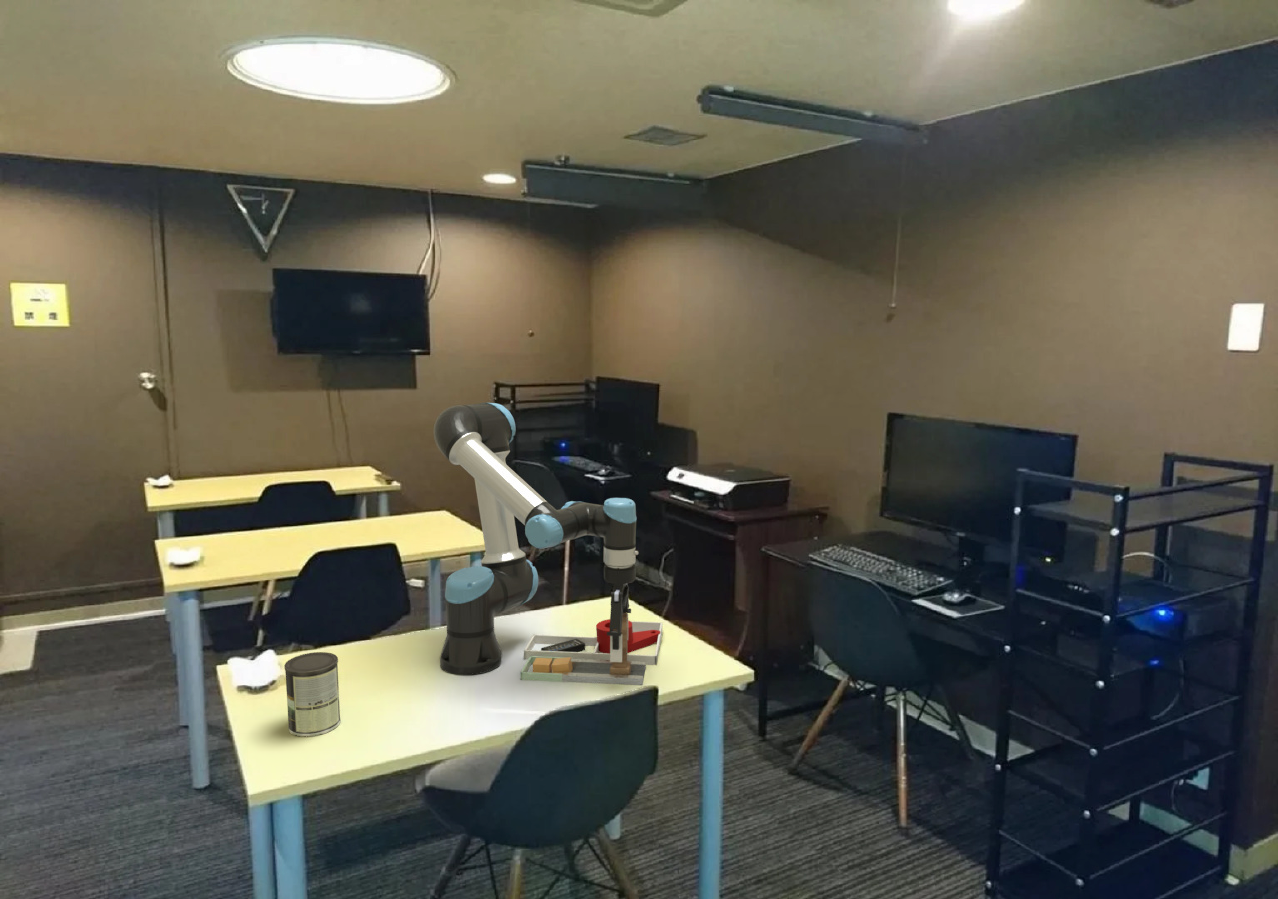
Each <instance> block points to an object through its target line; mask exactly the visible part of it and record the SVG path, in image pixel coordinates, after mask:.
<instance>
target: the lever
mask: <svg viewBox="0 0 1278 899" xmlns="http://www.w3.org/2000/svg"><path fill="white" fill-rule="evenodd" d="M631 621H632V620H629V619H628V640H627V654H630V653H633V652H635V651H638V650H641V649H643V648H647V647H649V646H651V645H654V644H657V641H658V635H659V634H660V631H659V630H648V631H640V632H633V629H632V622H631ZM595 627H596V628H595V629H596V637H597V642H598V643H599V652H598V653H609V654H610V636H607V632H609V630H610V618H609V619H603V620H601V621H599V622H598V623H597V624H596V626H595Z"/></svg>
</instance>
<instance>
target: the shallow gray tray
mask: <svg viewBox="0 0 1278 899" xmlns="http://www.w3.org/2000/svg"><path fill="white" fill-rule="evenodd" d="M571 661H572V668H573V669H572V672H571V673H569V672H563V675H562V682H563V683H565V682H566V683H582V684H583V683H585V684H587V683H588V684H606V685H609V684H610V685H611V684H612V685H630V686H631V685H634V686H643V683H644V680H645V675H646V669H647V665H646V662H639V661H627V662H631V673H630V675H614V674H610V667H611V664H612V662H610V660H592V659H571Z"/></svg>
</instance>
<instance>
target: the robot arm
mask: <svg viewBox="0 0 1278 899" xmlns="http://www.w3.org/2000/svg"><path fill="white" fill-rule="evenodd" d="M516 431H517V430H516V422H515V419H514V417H513V415H512V414H511V412H510V410H509V409H507V408H506V407H505V406H504V405H502V404H500V403H495V402H481V403H472V404H471V403H470V404H464V405H463V404H462V405H461V404H460V405H458V404H457V405H453V406H450V407H447V408H446V409H444V410H443V411H442V412H440V414H439V415H438V416H437V418H436V420H435V422H434V426H433V438H434V441H435V444H436V446H437V449H439V451H440V453H441V454H442V455H443V456H444V457H445V458H446V460H448V461H449V463H451V464H452V465H454V466H457V465H458V466H459V465H460V466H461V467H462V468H463V469H464V470H465V471H466V472H467V473H468V474H469V475H471V477H473V479H474V483H475V491H476V496H477V497H476V498H477V504H478V505H477V506H478V510H479V517H480V524H481V530H482V535H483V543H484V550H485V555H484V557H483V558H482V559H481V560H480V563H481V566H479V565H477V566H476V565H475V566H471V567H463V568H460V569H458V570H456V571H454V572H452V573H451V574H450V575H449V576H448V577H447V579H446V581H445V589H444V590H445V591H444V597H445V617H446V618H445V619H446V623H445V624H446V636H445V640H444V643H443V646H442V648H441V652H440V658H439V659H440V660H439V663H440V664H439V666H440V669H441V670H443V671H444V672H447V673H449V674H452V675H460V676H462V675H463V676H469V675H471V676H472V675H473V676H474V675H478V674H484V673H487V672H489V671H493V670H494V669H496V668H498V667H499V666H500V665H501V664H502V662H503V659H502V658H503V657H502V656H503V655H502V654H503V653H502V650H501V647H500V643H499V641H498V639H497V636H496V632H495V616H496V615H499V614H501V613H504V612H506V611H509V610H511V609H514V608H518V607H521V606H522V605H523V604H525V603H527V602H529V601H530V600H532V598H533V597H534V596H535V594H536V593H537V590H538V587H539V575H538V571H537V568H536V566H533V562H532V561H530V560H529V559H527V555H526V552H524V551H523V550H521V548H520V547H519V542H518V536H517V534H518V533H517V528H516V521H515V520H516V519H517V520H518V521H519V522H521V523H522V524H523V525H524V526H525V527H524V528H525V529H524V531H525V532H524V534H525V537H526V538H527V540H528V543H529V544H530V545H531V546H532V547H534V548H537V549H541V550H542V549H546V548H553V547H556V546H557V545H560V544H562V543H565V542H568V541H572V540H575V539H578V538H581V537H584V536H593V537H598V538H603V563H604V565H603V580H604V581H605V582H606V583H609V584H611V585H612V586H611V588H610V592H609V594H610V617H609V619H610V630H609V632H607V636H610V662H622V632H621V631H622V618H623V613H628V614H632V608H630V602H629V601H630V599H629V591H630V590H629V589H630V587H629V585H628V584H631V583H633V582H634V581H635V580H636V576H637V575H636V573H637V572H636V570H637V568H636V565H635V563H636V556H637V555H639V550H636V543H637V542H636V531H637V519H638V518H637V510H636V509H637V508H636V503H635V501H634V500H632V499H630V498H628V497H610V498H607V499H606V500H604V503H603V504H597V503H591V502H590V503H589V502H584V501H580V500H579V501H573V500H571V501H567V502H566V503H564V505H563V506H562V507H561V508H560V509H556V508H555V507H554V506H553V505H552V504H550V503H549V502H548V501H547V500H545V498H544V497H543V496H541V495H540V494H539V493H538V492H537V491H536V490H535V489H534V488H532V486H531V485H529V484H528V483H527V481H525V480H524V479H523V478H522V477H521V476H519V474H518V473H516V472H515V471H514V470H513V469H512V468H511V467H509V465H507V463H506V458H507V456H508V455H509V453H511V449H510V444H511V442H512V441H513V440H514V436H516ZM515 518H516V519H515ZM616 630H618V631H616ZM627 640H628V639H627Z"/></svg>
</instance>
